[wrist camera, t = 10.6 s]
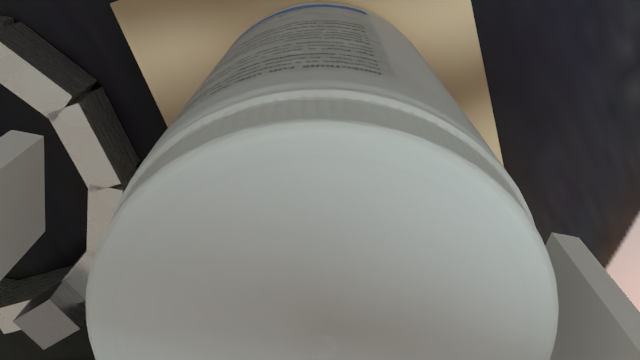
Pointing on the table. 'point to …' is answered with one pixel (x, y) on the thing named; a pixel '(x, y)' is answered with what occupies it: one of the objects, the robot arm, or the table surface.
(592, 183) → the table surface
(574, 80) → the table surface
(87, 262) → the collar
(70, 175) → the table surface
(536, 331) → the supplement tub
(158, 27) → the mat
